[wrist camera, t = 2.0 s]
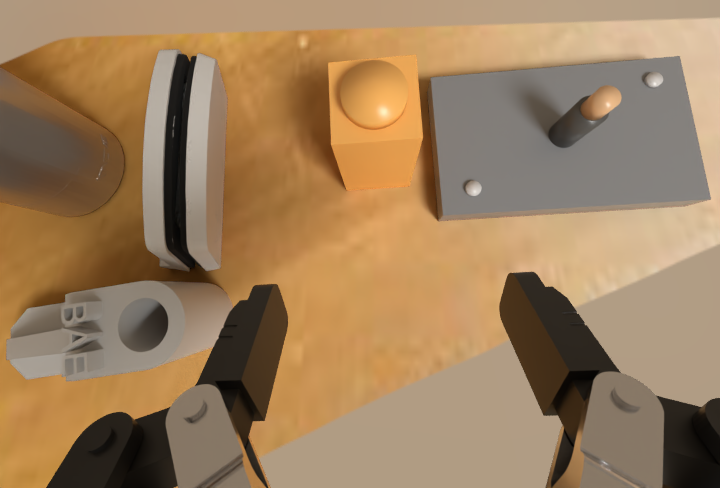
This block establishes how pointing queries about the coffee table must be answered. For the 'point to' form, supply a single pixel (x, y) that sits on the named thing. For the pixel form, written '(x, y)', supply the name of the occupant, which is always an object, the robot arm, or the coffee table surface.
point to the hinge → (185, 161)
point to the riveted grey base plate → (565, 140)
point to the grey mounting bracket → (118, 329)
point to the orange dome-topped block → (375, 120)
